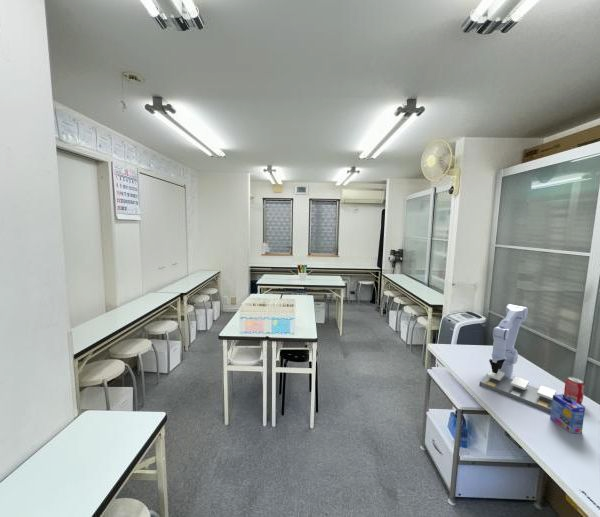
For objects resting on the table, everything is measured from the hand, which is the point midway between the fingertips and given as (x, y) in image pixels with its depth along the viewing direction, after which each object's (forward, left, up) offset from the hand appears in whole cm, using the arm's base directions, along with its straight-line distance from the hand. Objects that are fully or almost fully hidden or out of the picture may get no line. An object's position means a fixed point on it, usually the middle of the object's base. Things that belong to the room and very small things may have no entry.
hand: (496, 370), depth 158 cm
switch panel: (+1, +11, -8) cm, 13 cm away
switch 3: (0, +22, -3) cm, 22 cm away
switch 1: (0, 0, -3) cm, 3 cm away
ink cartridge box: (+16, +31, -8) cm, 36 cm away
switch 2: (0, +11, -3) cm, 11 cm away
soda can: (-12, +31, -8) cm, 34 cm away
